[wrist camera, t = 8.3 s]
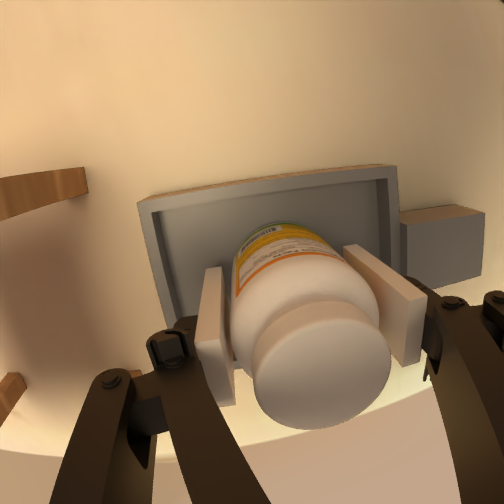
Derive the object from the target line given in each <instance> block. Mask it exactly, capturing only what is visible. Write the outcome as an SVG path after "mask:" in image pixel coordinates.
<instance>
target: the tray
mask: <svg viewBox="0 0 504 504" xmlns="http://www.w3.org/2000/svg"><path fill="white" fill-rule="evenodd" d="M137 206H138V211H139V216H140V220H141V225H142V230H143V234H144V239H145V243H146V248H147V252H148V256H149V260H150V264H151V268H152V272H153V276H154V280H155V284H156V288H157V292H158V296H159V299H160V303H161V307H162V310H163V314H164V317H165V321H166V324H167V327H168V329H173V326H174V324H175V323H176V321H177V320H178V319H179V318H180V317H186V316H193V315H198V314H199V307H200V301H201V295H202V289H203V283H204V277H205V271H206V269H208V268H214V267H220V266H222V271H223V277H224V282H225V287H226V293H227V298H228V303H229V308H231V276H232V266H233V261H234V257H235V255H236V252H237V250H238V248H239V247H240V245H241V244H242V242H243V241H244V240H245V239H246V238H247V237H248V236H249V235H250V234H251V233H252V232H254V231H255V230H257V229H259V228H261V227H263V226H265V225H268V224H272V223H277V222H292V223H297V224H300V225H302V226H305V227H307V228H309V229H310V230H312V231H313V232H315V233H316V234H318V235H319V236H320V237H321V238H322V239H323V240H324V241H325V242H326V243H327V244H328V245H329V246H330V247H331V248H332V249H334V250H335V251H336V252H337V253H338V254H339V255H340V256H341V257H342V258H343V246H347V245H353V244H357V245H359V246H360V247H362V248H363V249H365V250H366V251H367V252H369V253H370V254H372V255H373V256H374V257H376V258H377V259H379V260H380V261H381V262H383V263H384V264H386V265H387V266H388V267H390V268H391V269H392V270H394V271H395V272H397V273H398V274H399V275H401V276H409V277H412V278H415V279H417V280H418V281H420V282H421V283H422V284H424V285H425V286H427V287H428V288H430V289H431V290H432V289H436V288H439V287H443V286H446V285H450V284H453V283H457V282H460V281H464V280H467V279H470V278H474V277H477V276H480V275H481V269H482V258H483V245H484V226H485V213H484V212H480V211H477V210H474V209H470V208H467V207H463V206H459V205H449V206H441V207H434V208H427V209H419V210H412V211H405V212H399V195H398V180H397V168H396V166H394V165H382V164H373V165H362V166H351V167H341V168H331V169H322V170H313V171H305V172H297V173H289V174H281V175H274V176H267V177H260V178H253V179H246V180H240V181H234V182H227V183H221V184H215V185H209V186H204V187H198V188H192V189H187V190H182V191H176V192H171V193H166V194H161V195H156V196H151V197H147V198H145V199H143V200H141V201H139V202H137ZM233 367H234V369H241V368H242V367H241V366H240V364H239V362H238V361H237V359H236V356H235V354H234V351H233Z"/></svg>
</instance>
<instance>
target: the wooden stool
mask: <svg viewBox="0 0 504 504" xmlns="http://www.w3.org/2000/svg"><path fill="white" fill-rule="evenodd" d="M85 193H88V188H87V183H86V177H85V172H84V167H79V168H70V169H61V170H53V171H45V172H37V173H30V174H23V175H16V176H10V177H4V178H0V221H2V220H5V219H8V218H11V217H13V216H16V215H19V214H22V213H25V212H28V211H31V210H34V209H37V208H40V207H43V206H46V205H49V204H52V203H55V202H58V201H61V200H65V199H68V198H71V197H75V196H78V195H81V194H85ZM128 372H129V373H130V375H131V377H132V378H134V377H138V376H141V375H142V373H141V371H140V370H137V371H128ZM26 389H27V386H26V384H25V383H24V381H23V379H22V377H21V375H20V373H7V375H6V376H5V377H4V378H3V380H2V381H1V382H0V427H1V426H2V424H3V423H4V421H5V419H6V418H7V416H8V415H9V413H10V412H11V410H12V409H13V407H14V406H15V404H16V403H17V401H18V400H19V399H20V397H21V396H22V394H23V393H24V391H25V390H26Z"/></svg>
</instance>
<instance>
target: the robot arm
mask: <svg viewBox="0 0 504 504" xmlns="http://www.w3.org/2000/svg"><path fill="white" fill-rule="evenodd" d="M502 1H503V2H504V0H502ZM343 259H344V260H345V261H346V262H348V263H349V264H350V265H351V266H352V267H353V268H354V269H355V270H356V271H357V272H358V273H359V274H360V275H361V276H362V277H363V278H364V280H365V281H366V282H367V283H368V285H369V286H370V288H371V290H372V291H373V293H374V295H375V298H376V301H377V304H378V310H379V331H380V332H381V334H382V335H383V336H384V338H385V339H386V341H387V343H388V346H389V349H390V352H391V354H392V355H393V356H394V357H395V359H396V360H397V361H398V362H399V364H400V365H401V366H402V367H405V366H408V365H411V364H414V363H417V362H420V356H421V350H422V349H423V350H424V351H425V352H426V353H427V359H426V365H425V370H424V376H423V381H426V378H427V375H428V374H429V376H430V381H431V382H432V385H433V388H434V391H435V394H436V398H437V401H438V405H439V408H440V411H441V415H442V419H443V422H444V426H445V430H446V433H447V437H448V441H449V445H450V450H451V453H452V458H453V462H454V467H455V472H456V477H457V481H458V487H459V492H460V498H461V503H462V504H504V292H502V291H497V290H496V291H491V292H488V293H486V294H485V296H484V300H483V305H478V306H469V304H468V303H467V302H466V301H465V300H464V299H462V298H459V297H455V296H444V297H441V296H439V295H438V294H436V293H435V292H434V291H432V290H431V289H430V288H428V287H427V286H425V285H424V284H422V283H421V282H420V281H418V280H417V279H415V278H412V277H409V276H401V275H399V274H398V273H397V272H395V271H394V270H392V269H391V268H390V267H388V266H387V265H386V264H384V263H383V262H381V261H380V260H379V259H377V258H376V257H374V256H373V255H372V254H370V253H369V252H367V251H366V250H365V249H363V248H362V247H360V246H359V245H357V244H353V245H347V246H343ZM146 347H147V350H148V353H149V356H150V359H151V361H152V364H153V367H154V371H152V372H150V373H147V374H145V375H141V376H138V377H134V378H132V377H131V375H130V373H129V372H128V371H127V370H125V369H120V368H115V369H109V370H106V371H104V372H102V373H101V374H99V375H98V376H97V377H96V378H95V379H94V381H93V382H92V384H91V387H90V389H89V392H88V394H87V397H86V399H85V402H84V404H83V407H82V409H81V412H80V414H79V417H78V419H77V422H76V425H75V427H74V430H73V433H72V435H71V438H70V441H69V444H68V447H67V449H66V452H65V455H64V458H63V461H62V464H61V467H60V470H59V473H58V476H57V479H56V482H55V486H54V489H53V492H52V496H51V499H50V503H49V504H152V490H153V477H154V464H155V454H156V444H157V434H159V433H163V432H166V431H169V432H170V435H171V439H172V442H173V446H174V449H175V452H176V456H177V459H178V462H179V465H180V469H181V472H182V475H183V478H184V481H185V484H186V487H187V490H188V493H189V495H190V498H191V501H192V504H271V502H270V501H269V499H268V498H267V496H266V494H265V493H264V491H263V489H262V487H261V486H260V484H259V482H258V480H257V479H256V477H255V475H254V473H253V472H252V470H251V468H250V466H249V465H248V463H247V461H246V459H245V457H244V455H243V454H242V452H241V450H240V448H239V446H238V444H237V442H236V441H235V439H234V437H233V435H232V433H231V431H230V429H229V427H228V425H227V423H226V421H225V419H224V417H223V415H222V413H221V411H220V409H219V407H224V406H232V405H236V404H235V386H234V367H233V348H232V344H231V337H230V308H229V303H228V298H227V293H226V287H225V282H224V277H223V271H222V266H220V267H214V268H208V269H206V271H205V277H204V283H203V289H202V295H201V301H200V307H199V314H198V315H193V316H186V317H180V318H179V319H178V320H177V321H176V323H175V324H174V326H173V329H166V330H162V331H160V332H157V333H155V334H154V335H152V336H151V337H150V338H149V339H148V340H147V342H146Z"/></svg>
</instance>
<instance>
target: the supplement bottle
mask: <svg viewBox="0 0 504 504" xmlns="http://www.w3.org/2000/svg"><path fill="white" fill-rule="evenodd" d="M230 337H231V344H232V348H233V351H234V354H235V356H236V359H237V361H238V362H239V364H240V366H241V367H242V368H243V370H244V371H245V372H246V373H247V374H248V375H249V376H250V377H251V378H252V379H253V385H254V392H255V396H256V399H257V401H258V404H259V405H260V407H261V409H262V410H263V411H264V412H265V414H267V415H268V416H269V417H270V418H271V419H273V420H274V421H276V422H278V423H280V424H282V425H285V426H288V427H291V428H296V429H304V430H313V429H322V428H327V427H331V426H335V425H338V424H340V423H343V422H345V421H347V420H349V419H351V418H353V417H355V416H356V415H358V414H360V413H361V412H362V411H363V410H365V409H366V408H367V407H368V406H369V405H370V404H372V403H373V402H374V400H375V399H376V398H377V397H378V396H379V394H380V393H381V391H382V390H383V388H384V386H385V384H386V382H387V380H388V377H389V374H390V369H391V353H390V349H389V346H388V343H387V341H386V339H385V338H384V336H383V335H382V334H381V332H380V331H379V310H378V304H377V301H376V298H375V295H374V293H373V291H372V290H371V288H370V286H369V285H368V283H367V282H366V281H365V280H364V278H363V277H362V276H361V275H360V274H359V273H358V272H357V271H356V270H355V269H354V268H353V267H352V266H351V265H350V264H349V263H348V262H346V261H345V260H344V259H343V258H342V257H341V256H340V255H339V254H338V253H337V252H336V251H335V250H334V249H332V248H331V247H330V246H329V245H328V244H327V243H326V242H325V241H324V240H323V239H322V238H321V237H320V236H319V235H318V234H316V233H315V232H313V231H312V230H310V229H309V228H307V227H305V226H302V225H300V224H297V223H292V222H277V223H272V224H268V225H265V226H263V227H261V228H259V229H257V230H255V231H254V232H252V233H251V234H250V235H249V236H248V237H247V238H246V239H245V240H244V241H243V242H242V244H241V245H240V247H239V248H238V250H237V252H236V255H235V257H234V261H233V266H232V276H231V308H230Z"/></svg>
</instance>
